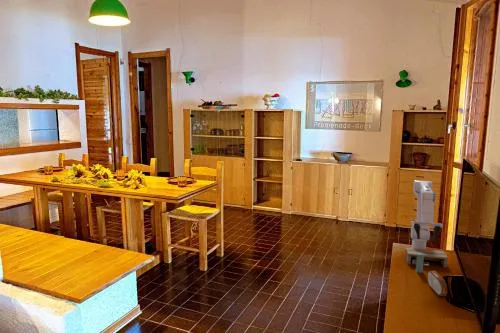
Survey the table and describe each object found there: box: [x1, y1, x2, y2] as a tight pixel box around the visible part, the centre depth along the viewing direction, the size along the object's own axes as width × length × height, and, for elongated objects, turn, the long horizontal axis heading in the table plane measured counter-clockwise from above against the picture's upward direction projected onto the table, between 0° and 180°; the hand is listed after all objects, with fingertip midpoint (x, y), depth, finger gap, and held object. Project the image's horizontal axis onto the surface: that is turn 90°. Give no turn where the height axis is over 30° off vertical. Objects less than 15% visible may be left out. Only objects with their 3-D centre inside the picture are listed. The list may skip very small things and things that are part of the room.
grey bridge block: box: [404, 247, 449, 269], centre depth 208 cm, size 9×20×6 cm, turn 76°
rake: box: [411, 252, 425, 274], centre depth 201 cm, size 11×4×10 cm, turn 166°
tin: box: [427, 270, 448, 297], centre depth 177 cm, size 15×3×8 cm, turn 179°
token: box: [423, 260, 431, 267], centre depth 207 cm, size 4×4×1 cm
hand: (426, 240), depth 191 cm, fingers open, 7 cm apart
